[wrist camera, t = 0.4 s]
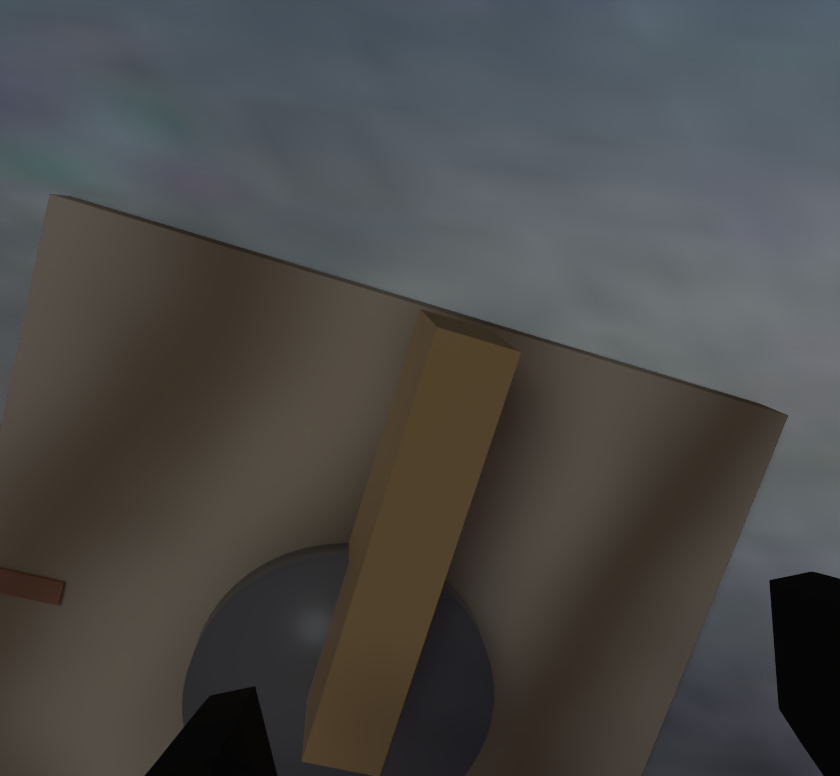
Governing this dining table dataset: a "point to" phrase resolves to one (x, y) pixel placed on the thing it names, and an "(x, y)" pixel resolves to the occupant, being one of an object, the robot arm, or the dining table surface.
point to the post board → (330, 498)
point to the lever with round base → (378, 592)
